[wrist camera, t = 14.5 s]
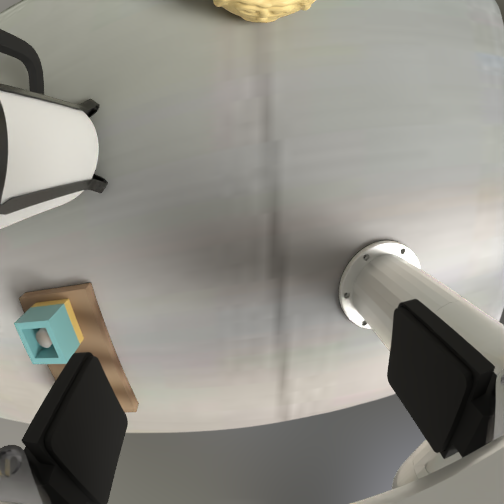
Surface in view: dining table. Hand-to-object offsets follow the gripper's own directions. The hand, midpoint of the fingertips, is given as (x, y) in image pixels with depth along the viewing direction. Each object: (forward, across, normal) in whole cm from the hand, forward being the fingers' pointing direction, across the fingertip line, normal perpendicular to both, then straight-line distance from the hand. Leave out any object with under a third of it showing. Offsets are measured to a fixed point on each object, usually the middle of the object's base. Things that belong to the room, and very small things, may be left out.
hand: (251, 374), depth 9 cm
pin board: (+28, +25, +16) cm, 41 cm away
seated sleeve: (+26, +25, +10) cm, 38 cm away
